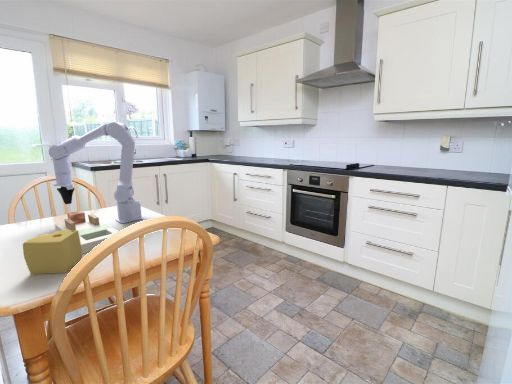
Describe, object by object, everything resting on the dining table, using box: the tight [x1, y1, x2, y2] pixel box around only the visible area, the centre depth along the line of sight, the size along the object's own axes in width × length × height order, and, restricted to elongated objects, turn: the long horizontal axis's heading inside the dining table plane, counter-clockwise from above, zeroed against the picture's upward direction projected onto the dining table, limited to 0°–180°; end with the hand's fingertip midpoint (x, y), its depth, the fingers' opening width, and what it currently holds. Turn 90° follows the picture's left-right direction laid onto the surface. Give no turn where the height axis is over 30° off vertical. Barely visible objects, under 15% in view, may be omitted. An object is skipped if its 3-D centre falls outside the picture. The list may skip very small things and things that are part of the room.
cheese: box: [22, 230, 83, 275], centre depth 84 cm, size 10×11×10 cm
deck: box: [54, 213, 119, 254], centre depth 110 cm, size 14×33×6 cm, turn 47°
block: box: [66, 210, 86, 224], centre depth 118 cm, size 5×5×4 cm
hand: (68, 203), depth 123 cm, fingers closed
